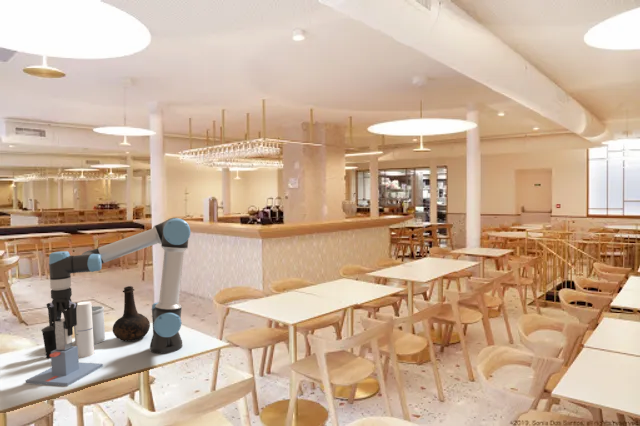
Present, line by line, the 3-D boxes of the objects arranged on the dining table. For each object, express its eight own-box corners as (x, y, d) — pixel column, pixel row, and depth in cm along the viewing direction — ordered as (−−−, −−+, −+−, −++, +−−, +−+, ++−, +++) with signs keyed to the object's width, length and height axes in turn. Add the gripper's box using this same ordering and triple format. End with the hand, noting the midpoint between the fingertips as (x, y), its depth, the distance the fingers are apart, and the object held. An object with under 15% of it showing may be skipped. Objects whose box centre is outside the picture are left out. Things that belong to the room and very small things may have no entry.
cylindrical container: (86, 357, 202) (83, 305, 202) (73, 357, 204) (70, 304, 203) (97, 352, 209) (94, 301, 208) (84, 351, 211) (82, 301, 210)
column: (73, 369, 185) (71, 318, 184) (66, 373, 181) (63, 321, 180) (65, 368, 186) (62, 318, 185) (57, 373, 182) (54, 321, 181)
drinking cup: (65, 354, 208) (63, 313, 207) (49, 360, 201) (47, 317, 200) (55, 352, 211) (52, 312, 210) (39, 358, 204) (36, 316, 203)
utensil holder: (72, 348, 216) (70, 314, 215) (75, 340, 230) (73, 307, 229) (104, 343, 222) (102, 310, 221) (106, 335, 236) (104, 304, 235)
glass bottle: (157, 334, 235) (154, 283, 234) (135, 345, 218) (133, 290, 217) (128, 332, 239) (126, 283, 238) (105, 343, 222) (102, 290, 221)
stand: (102, 366, 191) (101, 341, 191) (67, 386, 171) (66, 358, 171) (64, 364, 195) (62, 340, 195) (25, 383, 176) (24, 356, 175)
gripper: (85, 286, 184) (87, 340, 185) (51, 286, 187) (54, 339, 188) (71, 290, 176) (74, 346, 177) (36, 289, 180) (39, 345, 181)
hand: (64, 342), depth 183 cm, fingers closed on column, 4 cm apart
